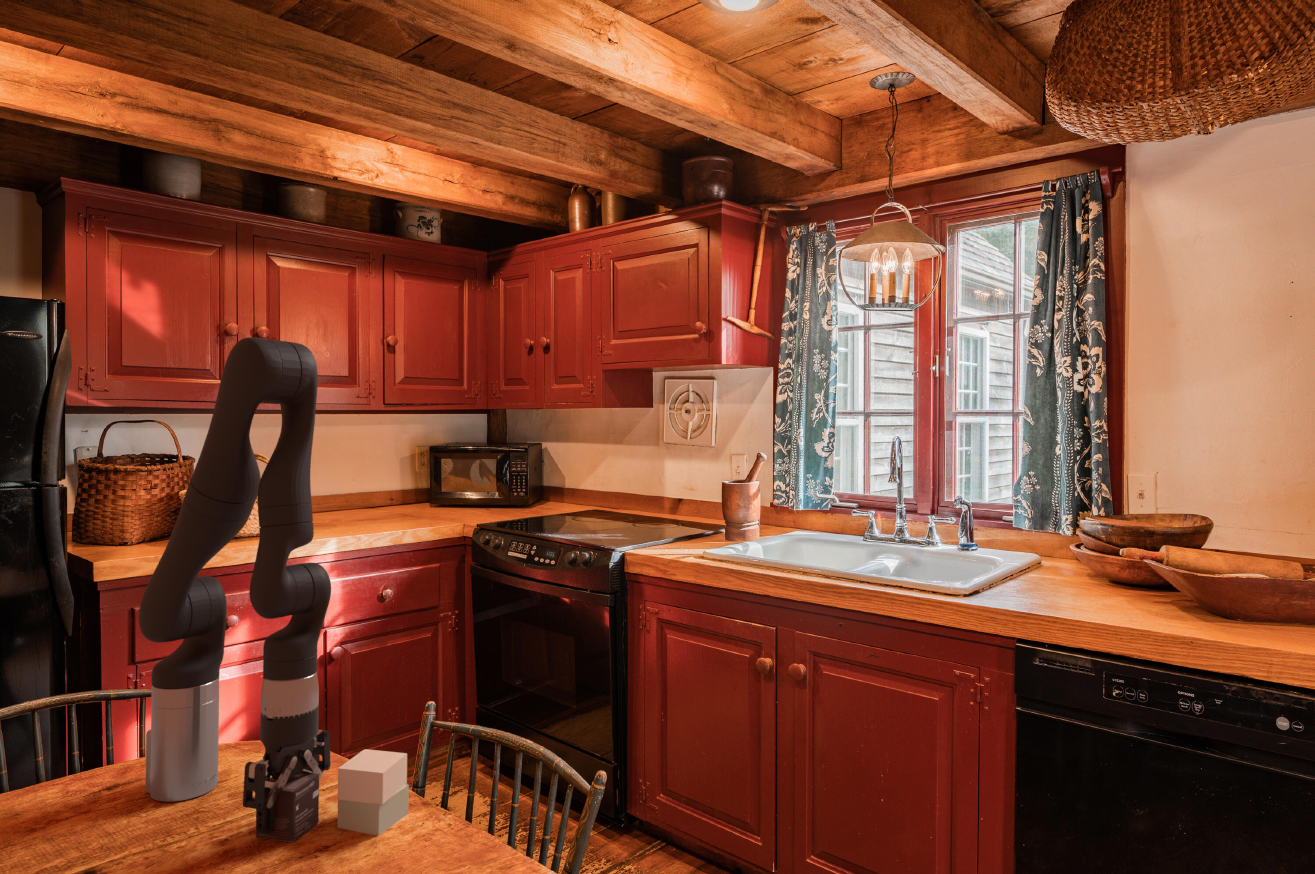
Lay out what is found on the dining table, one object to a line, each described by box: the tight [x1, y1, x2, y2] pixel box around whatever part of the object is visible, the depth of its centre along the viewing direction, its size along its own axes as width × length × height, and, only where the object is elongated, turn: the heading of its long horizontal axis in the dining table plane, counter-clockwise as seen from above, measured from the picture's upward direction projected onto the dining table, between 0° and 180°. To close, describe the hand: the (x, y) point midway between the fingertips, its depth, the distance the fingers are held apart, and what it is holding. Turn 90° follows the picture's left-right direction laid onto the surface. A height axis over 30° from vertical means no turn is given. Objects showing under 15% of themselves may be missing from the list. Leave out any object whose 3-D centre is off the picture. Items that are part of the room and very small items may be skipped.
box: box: [255, 772, 320, 843], centre depth 114 cm, size 6×6×7 cm
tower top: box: [337, 748, 408, 805], centre depth 117 cm, size 7×7×4 cm
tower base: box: [337, 783, 410, 837], centre depth 117 cm, size 7×7×4 cm
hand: (288, 818), depth 114 cm, fingers open, 8 cm apart
